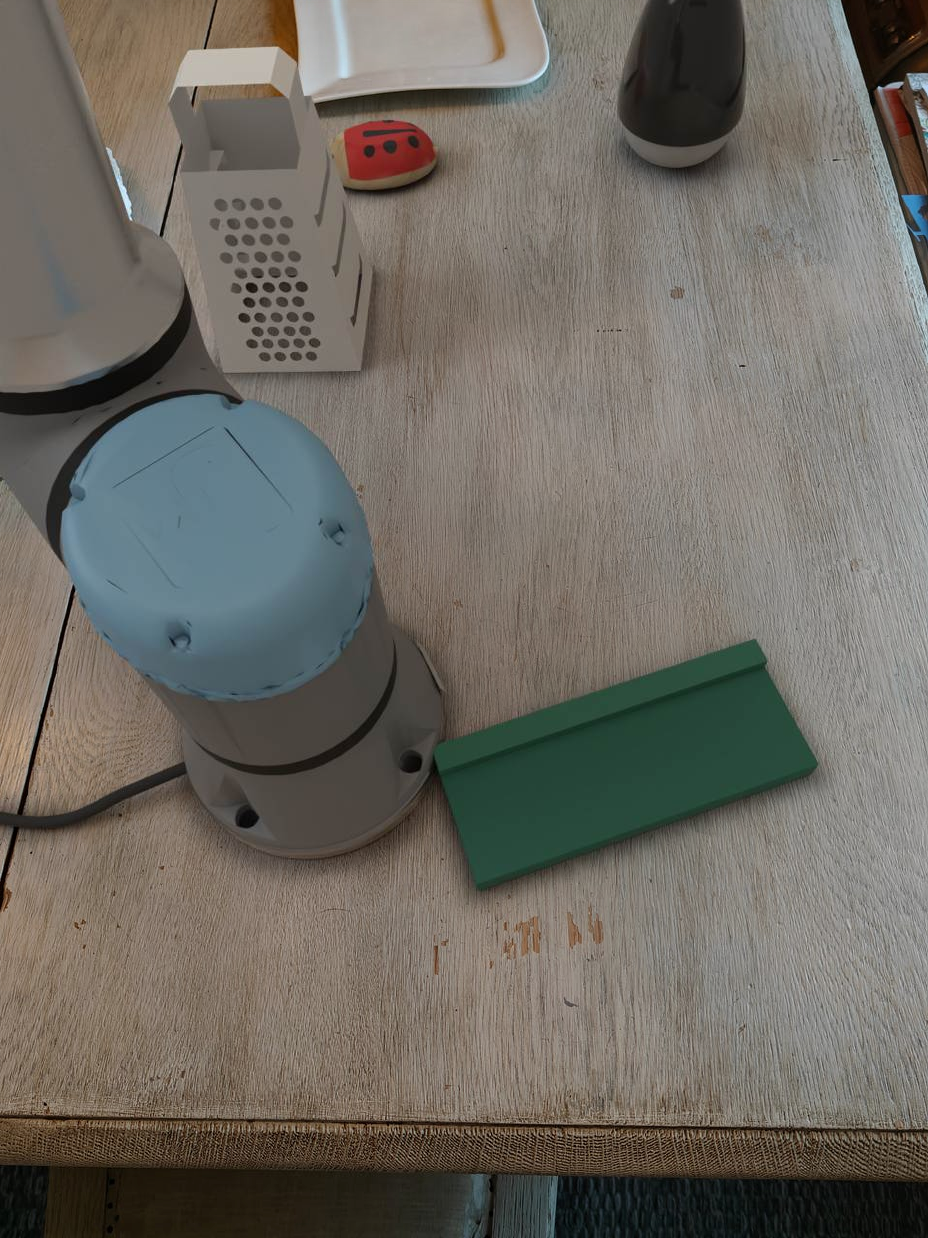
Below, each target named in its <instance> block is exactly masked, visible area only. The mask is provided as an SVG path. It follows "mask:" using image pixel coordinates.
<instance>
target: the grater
mask: <svg viewBox="0 0 928 1238" xmlns="http://www.w3.org/2000/svg"><path fill="white" fill-rule="evenodd" d="M179 65H180V66H178V67H179V68H178V70H177V73H176V77H175V80H174V83H173V87H172V90H171V93H170V96H169V99H168V102H167V106H168V108H169V111H170V114H171V116H172V119H173V122H174V125H175V128H176V131H177V134H178V138H180V143H181V145H182V148H183V151H184V157H183V160H182V164H181V166H180V171H179V175H180V180H181V183H182V184H181V185H182V188H183V192H184V197H185V203H186V207H187V212H188V217H189V221H190V226H191V231H192V234H193V240H194V245H195V249H196V254H197V259H198V263H199V269H200V273H201V277H202V281H203V287H204V291H205V296H206V301H207V305H208V309H209V313H210V314H209V315H210V319H211V323H212V328H213V334H214V338H215V342H216V347H217V348H216V349H217V352H218V356H219V361H220V366H221V370H222V374H236V373H237V374H244V373H245V374H247V373H251V374H252V373H307V372H308V373H312V372H313V373H314V372H315V373H316V372H317V373H319V372H320V373H321V372H361V371H362V364H363V363H362V362H363V356H364V355H363V354H364V348H365V338H366V331H367V325H368V324H367V323H368V315H369V308H370V299H371V292H372V284H373V275H374V272H373V269H372V266H371V263H370V260H369V258H368V254H367V252H366V249H365V246H364V243H363V241H362V238H361V234H360V231H359V228H358V225H357V223H356V221H355V217H354V214H353V211H352V208H351V206H350V203H349V200H348V197H347V195H346V191H345V187H344V186H343V185H342V183H341V180H340V177H339V174H338V171H337V168H336V165H335V163H334V160H333V157H332V154H331V151H330V148H329V146H330V145H329V143H328V139H327V137H326V134H325V132H324V131H325V130H324V129H323V125H322V121H321V119H320V117H319V114H318V111H317V108H316V105H315V103H314V100H313V97H312V95H304V89H303V85H302V80H301V76H300V71H299V67H298V62H297V61H296V60H295V59H293V57H291V56H290V55H289V54H288V53H286V52H285V51H284V50H283V49H282V48H281V47H280V46H259V47H235V48H234V47H233V48H210V49H209V48H207V49H189V50H187V52H186V54H185V56H184V58H183V60H182V62H181V64H179ZM263 84H270V85H272V87H274V88H275V90H277V91H278V92H280V93H281V94H282V95H283V96H268V97H267V96H266V97H263V96H262V97H241V98H239V97H237V98H236V97H235V98H213V99H212V98H211V99H200V101H199V105H198V109H197V112H196V114H195V111H194V107H193V105H192V101H191V98H190V96H189V92H188V90H187V87H207V86H208V87H209V86H235V85H263ZM220 223H222V228H221V229H219V228H220V225H221V224H220ZM360 274H361V281H360V289H359V298H358V304H357V310H356V311H357V312H356V319H355V323H354V325H353V322H352V319H351V318H352V317H353V316H354V315H355V308H356V300H357V292H358V285H359V276H360ZM288 275H289V276H288ZM290 275H295V276H294V277H291V276H290ZM245 276H246V277H245ZM255 276H262V277H259V278H258V277H255ZM273 276H279V277H273ZM284 282H285V283H287V284H289V285H290V291H288V292H285V291H282V290H281V289H280V284H281V283H284ZM299 282H302V283H305V284H306V286H307V290H306V291H299V290H298V289H297V288H296V284H297V283H299ZM250 283H251V284H254V285H255V286H257V291H256V292H250V291H249V290H248V289H247V287H246V285H247V284H250ZM265 283H270V284H272V285H273V286H274V291H273V292H267V291H266V290H265V289H264V288H263V286H264V284H265ZM230 285H231V287H230ZM295 297H299V298H301V299H302V300H303V302H304V304H302V306H297V305H296V304H294V303H293V299H294V298H295ZM246 298H250V299H252V300H253V301H254V302H255V305H254V306H253V307H248V306H246V305H245V303H244V300H245V299H246ZM261 298H267V299H269V301H270V302H271V305H270V306H268V307H265V306H263V305H261V303H260V299H261ZM278 298H284V299H286V300H287V302H288V304H287V305H286V306H280V305H279V304H278V303H277V299H278ZM258 313H259V314H263V315H264V316H265V321H264V322H259V321H258V320H256V319H255V315H256V314H258ZM275 313H277V314H280V315H281V317H282V320H281V321H279V322H277V321H274V320H273V319H272V314H275ZM289 313H294V314H296V315H297V317H298V320H297V321H290V320H289V319H288V318H287V315H288V314H289ZM305 313H311V314H313V316H314V319H313V320H312V321H306V320H305V319H304V317H303V315H304V314H305ZM240 314H246V315H247V316H249V318H250V320H249V322H243V321H242V320H240V319H239V315H240ZM271 327H274V328H276V329H277V330H278V331H279V332H278V334H277V335H271V334H270V333H269V332H268V329H269V328H271ZM286 327H291V328H293V329H294V331H295V333H294V334H293V335H288V334H286V333H285V331H284V329H285V328H286ZM301 327H307V328H309V330H310V334H309V335H303V334H302V333H301V332H300V328H301ZM254 328H260V329H261V330H262V331H263V334H262V335H261V336H257V335H255V334H254V333H253V329H254ZM281 339H284V340H286V341H287V342H288V344H289V346H288V347H285V348H284V347H281V346H280V345H279V341H280V340H281ZM296 339H300V340H302V341H303V342H304V346H303V347H297V346H296V345H295V344H294V341H295V340H296ZM311 339H317V341H319V342H320V343H319V344H320V345H319V346H317V347H313V346H311V345H310V343H309V341H310V340H311ZM248 340H249V341H250V340H254V341H255V342H256V343H257V347H256V348H255V347H254V348H251V347H250V346H248V344H247V342H248ZM264 340H270V341H271V342H272V344H273V345H272V346H271V348H269V347H268V348H267V347H265V346H264V344H263V343H262V342H263V341H264ZM294 352H295V353H299V354H300V355H301V359H300V360H294V359H292V357H291V354H292V353H294ZM309 352H312V353H314V354H315V355H316V359H313V360H311V359H308V358H307V357H306V354H307V353H309ZM261 353H266V354H267V355H269V357H270V359H269V360H267V361H265V360H262V359H261V358H260V354H261ZM277 353H282V354H283V355H284V356H285V359H284V360H282V361H281V360H278V359H277V358H276V357H275V354H277Z"/></svg>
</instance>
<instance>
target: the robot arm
mask: <svg viewBox="0 0 928 1238" xmlns="http://www.w3.org/2000/svg"><path fill="white" fill-rule="evenodd" d="M62 14H63V13H62V11H61V8H60V5H59V2H58V0H0V477H1V478H2V480H3V481H4V483H5V484H6V486H7V487H8V489H9V490H10V491H11V493H12V494H13V496H14V497H15V499H16V500H17V501H18V503H19V504H20V506H21V507H22V508H23V510H24V512H25V513H26V514H27V516H28V518H30V520H31V522H32V523H33V525H34V526H35V528H36V529H37V530H38V531H39V533H40V534H41V536H42V537H43V539H44V540H45V541H46V543H47V544H48V546H49V547H50V549H51V550H52V552H53V553H54V555H55V556H56V557H57V559H58V560H59V561H60V562H61V564H62V565H63V567H64V568H65V569H66V571H67V573H68V575H69V577H70V580H71V582H72V585H73V586H74V589H75V591H76V593H77V598H78V601H79V603H80V605H81V608H82V609H83V611H84V613H85V616H86V617H87V618H88V619H89V621H90V623H91V624H92V625H93V628H94V629H95V631H96V632H97V633H98V635H99V636H100V637H101V638H102V639H103V641H104V642H105V643H106V644H107V645H108V646H109V648H110V649H112V650H113V651H114V652H115V653H116V654H117V655H118V656H119V657H121V659H124V660H125V661H127V662H128V663H129V664H130V665H131V666H132V667H133V668H134V669H135V671H136V672H137V673H138V674H139V676H140V677H141V678H142V680H144V682H145V683H146V685H148V686H149V688H150V689H151V690H152V691H153V693H154V694H155V695H156V696H157V697H158V699H159V700H160V701H161V703H163V705H164V706H165V707H166V708H167V710H168V711H169V712H170V713H171V714H172V716H173V717H174V718H175V719H176V720H177V722H178V724H180V725H181V744H182V745H181V746H182V747H181V749H182V750H181V751H182V757H183V761H181V762H179V763H177V764H174V765H171V766H169V767H166V768H165V769H163V770H162V769H161V770H160V771H158V772H155V773H153V774H150V775H148V776H146V777H143V778H141V779H139V780H136V781H134V782H132V783H128V784H127V785H125V786H123V787H122V786H121V787H120V788H118V789H116V790H114V791H112V792H110V793H108V794H106V795H105V796H102V797H100V798H98V799H97V800H95V801H93V802H91V803H89V804H87V805H85V806H83V807H80V808H78V809H75V810H72V811H69V812H65V813H60V814H54V815H53V814H52V815H38V816H37V815H23V814H16V813H11V812H6V811H2V810H1V811H0V825H4V826H9V827H16V828H23V829H35V830H37V829H39V830H41V829H43V830H44V829H54V828H62V827H67V826H71V825H75V824H78V823H80V822H83V821H86V820H88V819H91V818H93V817H95V816H97V815H99V814H101V813H103V812H105V811H106V810H108V809H111V808H112V807H114V806H116V805H117V804H121V803H122V802H124V801H126V800H128V799H130V798H132V797H135V796H137V795H140V794H142V793H144V792H146V791H149V790H151V789H153V788H156V787H159V786H161V785H163V784H165V783H168V782H171V781H173V780H175V779H177V778H180V777H183V776H184V775H187V778H188V781H189V783H190V786H191V788H192V789H193V791H194V793H195V796H196V797H197V798H198V800H199V801H200V803H201V804H202V806H203V807H204V808H205V809H206V811H207V812H208V813H209V814H210V815H211V817H212V818H213V819H214V820H215V821H216V822H217V823H218V824H219V825H220V826H221V827H222V828H224V830H225V831H227V833H229V834H230V835H232V836H233V837H234V838H236V839H237V840H238V841H239V842H242V843H243V844H245V845H247V846H249V847H251V848H253V849H255V850H258V851H259V852H263V853H266V854H269V855H271V856H275V857H281V858H287V859H296V860H317V859H326V858H330V857H335V856H340V855H343V854H347V853H350V852H353V851H356V850H359V849H361V848H363V847H365V846H367V845H369V844H371V843H373V842H375V841H377V840H378V839H380V838H382V837H383V836H385V835H386V834H388V833H389V832H390V831H392V830H393V829H394V828H396V827H397V826H398V825H400V823H402V821H403V822H404V820H405V819H406V818H407V817H408V816H409V815H410V814H411V813H412V812H413V811H414V810H415V808H416V807H417V806H418V805H419V804H420V802H421V801H422V799H423V798H424V797H425V795H426V793H427V792H428V790H429V788H431V785H432V784H433V781H434V779H435V777H436V774H437V773H438V771H437V766H436V762H435V759H434V755H433V753H434V750H435V747H436V745H438V744H441V743H444V742H446V725H447V724H446V713H445V708H444V702H443V698H442V697H443V696H442V691H443V692H444V693H447V691H446V689H445V686H444V684H443V682H442V681H441V679H440V677H439V675H438V673H437V671H436V669H435V667H434V665H433V663H432V661H431V658H430V657H429V654H428V653H427V650H426V648H425V647H424V646H423V645H422V644H421V643H419V642H418V641H416V643H417V644H416V643H415V642H414V641H413V640H412V639H411V638H410V637H409V636H408V635H407V634H406V633H405V632H403V631H402V630H400V628H398V627H397V626H395V625H394V624H393V623H392V622H390V619H389V615H388V611H387V607H386V603H385V599H384V596H383V592H382V588H381V584H380V580H379V576H378V571H377V567H376V565H375V559H374V553H373V552H374V551H373V547H372V544H371V541H372V537H371V536H372V535H371V534H370V532H369V529H368V521H367V518H366V515H365V512H364V509H363V507H362V505H361V504H360V502H359V501H358V498H357V493H356V491H355V490H354V488H353V486H352V485H351V483H350V481H349V479H348V477H347V475H346V474H345V472H344V470H343V468H342V467H341V465H340V463H339V462H338V460H337V459H336V457H335V455H334V454H333V452H332V451H331V450H330V448H329V447H328V446H327V445H326V444H325V443H324V442H323V441H322V439H321V438H320V437H319V436H318V435H317V434H315V433H314V432H313V431H312V430H310V429H309V428H308V427H307V426H306V425H305V424H304V423H303V422H301V421H300V420H298V419H297V418H296V417H294V416H292V415H290V414H288V413H286V412H285V411H282V409H279V408H277V407H275V406H273V405H270V404H267V403H265V402H262V401H259V400H255V399H253V398H247V399H244V398H243V396H242V395H241V394H240V393H239V392H238V391H237V390H236V389H235V388H234V386H232V385H231V384H230V382H229V381H228V380H227V379H226V378H225V377H224V376H223V375H222V374H221V371H219V369H218V368H217V366H216V365H215V362H214V361H213V360H212V358H211V356H210V354H209V352H208V349H207V347H206V345H205V342H204V338H203V334H202V331H201V328H200V324H199V321H198V318H197V315H196V311H195V308H194V304H193V301H192V298H191V295H190V292H189V288H188V285H187V281H186V277H185V275H184V271H183V268H182V266H181V263H180V261H179V258H178V256H177V254H176V252H175V251H174V249H173V248H172V246H171V245H170V244H169V243H168V242H167V241H166V240H165V239H164V238H163V237H162V236H160V235H159V234H158V233H156V232H155V231H154V230H152V229H151V228H149V227H147V226H145V225H144V224H141V223H139V222H137V221H134V220H131V219H130V215H129V213H128V209H127V207H126V204H125V201H124V197H123V195H122V191H121V188H120V186H119V183H118V180H117V177H116V174H115V171H114V168H113V164H112V161H111V159H110V155H109V152H108V149H107V147H106V144H105V140H104V137H103V134H102V132H101V129H100V125H99V123H98V119H97V116H96V114H95V111H94V108H93V104H92V102H91V99H90V96H89V93H88V89H87V87H86V83H85V81H84V78H83V77H84V76H83V74H82V72H81V68H80V65H79V62H78V59H77V56H76V54H75V50H74V47H73V44H72V41H71V38H70V35H69V32H68V29H67V26H66V23H65V21H64V17H63V15H62ZM441 690H442V691H441Z"/></svg>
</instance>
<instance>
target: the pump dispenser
mask: <svg viewBox="0 0 928 1238" xmlns="http://www.w3.org/2000/svg"><path fill="white" fill-rule="evenodd" d="M639 15H640V16H639V18H638V21H637V23H636V26H635V28H634V31H633V35H632V37H631V39H630V43H629V47H628V48H627V49H628V50H627V52H626V56H625V60H624V64H623V68H622V72H621V76H620V82H619V86H618V91H617V100H616V112H617V113H616V114H617V116H618V119H619V121H620V123H621V127H622V131H623V134H624V136H625V139H626V141H627V143H628V144H629V146H630V147H631V148H632V150H633V151H634V152H635V153H636V154H637V155H638V156H639V157H640V158H642V159H644V160H645V161H646V162H648V163H651V164H652V165H656V166H659V167H662V168H669V169H670V168H672V169H679V168H680V169H681V168H687V167H693V166H695V165H698V164H701V163H702V162H705V161H706V160H708V159H710V158H712V157H713V156H714V155H716V153H717V152H719V151H720V149H722V148H723V146H724V145H725V144H726V142H727V141H728V139H729V138H730V136H731V134H732V133H733V131H734V129H735V128H736V127H737V126H738V125H739V123H740V121H741V120H742V117H743V114H744V109H745V104H746V98H747V82H748V81H747V80H748V46H747V33H746V22H745V13H744V6H743V0H646V1H645V3H644V6H643V8H642V10H641V13H640V14H639Z"/></svg>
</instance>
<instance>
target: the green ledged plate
mask: <svg viewBox="0 0 928 1238" xmlns="http://www.w3.org/2000/svg"><path fill="white" fill-rule="evenodd" d="M767 663H768V658H767V657H766V654H765V653H764V651H763V649H762V647H761V646H760V644H759V641H758V640H757V639H756V638H752V639H750V640H746V641H743V642H740V643H737V644H734V645H731V646H728V647H725V648H722V649H719V650H716V651H713V652H710V653H707V654H704V655H701V656H699V657H695V658H691V659H688V660H685V661H683V662H680V663H677V664H674V665H671V666H668V667H666V668H661V669H659V670H656V671H653V672H649V673H647V674H643V675H641V676H638V677H635V678H633V679H630V680H627V681H623V682H620V683H618V684H617V683H616V684H615V685H611V686H608V687H605V688H602V689H599V690H596V691H593V692H590V693H588V694H585V695H582V696H581V695H580V696H578V697H576V698H573V699H569V700H566V701H564V702H560V703H557V704H555V705H552V706H549V707H545V708H543V709H540V710H539V709H538V710H536V711H534V712H531V713H528V714H524V715H522V716H518V717H515V718H512V719H509V720H506V721H504V722H501V723H497V724H494V725H492V726H488V727H486V728H482V729H479V730H477V731H474V732H471V733H468V734H465V735H461V736H459V737H456V738H453V739H449V740H447V741H445V742H444V743H441V744H438V745H436V747H435V750H434V753H433V755H434V759H435V762H436V766H437V774H438V776H439V779H440V783H441V786H442V788H443V790H444V794H445V797H446V800H447V803H448V806H449V810H450V812H451V815H452V819H453V821H454V824H455V827H456V831H457V833H458V837H459V839H460V842H461V845H462V848H463V851H464V854H465V856H466V860H467V863H468V865H469V868H470V872H471V874H472V877H473V880H474V884H475V887H476V889H477V891H478V892H481V891H483V890H487V889H488V888H491V887H494V886H497V885H500V884H503V883H505V882H508V881H511V880H514V879H518V878H520V877H523V876H526V875H529V874H531V873H535V872H537V871H540V870H542V869H546V868H548V867H551V866H554V865H557V864H560V863H563V862H565V861H568V860H571V859H575V858H577V857H580V856H582V855H585V854H588V853H591V852H594V851H596V850H600V849H603V848H606V847H608V846H611V845H614V844H617V843H619V842H622V841H625V840H629V839H631V838H633V837H636V836H639V835H642V834H645V833H648V832H651V831H654V830H656V829H659V828H662V827H665V826H667V825H668V826H669V825H670V824H674V823H676V822H679V821H682V820H685V819H687V818H690V817H694V816H696V815H699V814H701V813H705V812H708V811H710V810H713V809H716V808H719V807H721V806H722V807H723V806H725V805H728V804H730V803H734V802H736V801H739V800H742V799H744V798H747V797H750V796H753V795H756V794H758V793H761V792H764V791H767V790H770V789H773V788H775V787H776V788H777V787H778V786H781V785H784V784H788V783H790V782H793V781H795V780H798V779H799V780H800V779H801V778H804V777H806V776H810V775H812V774H813V773H814V772H815V771H816V769H817V768H818V767H819V762H818V760H817V759H816V756H815V755H814V753H813V751H812V750H811V747H810V746H809V744H808V742H807V740H806V739H805V737H804V735H803V733H802V731H801V730H800V728H799V726H798V724H797V721H795V719H794V717H793V714H792V713H791V711H790V710H789V708H788V706H787V704H786V702H785V700H784V699H783V697H782V695H781V693H780V691H779V690H778V688H777V686H776V684H775V683H774V681H773V679H772V677H771V675H770V673H769V672H768V670H767V668H766V665H767Z"/></svg>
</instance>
